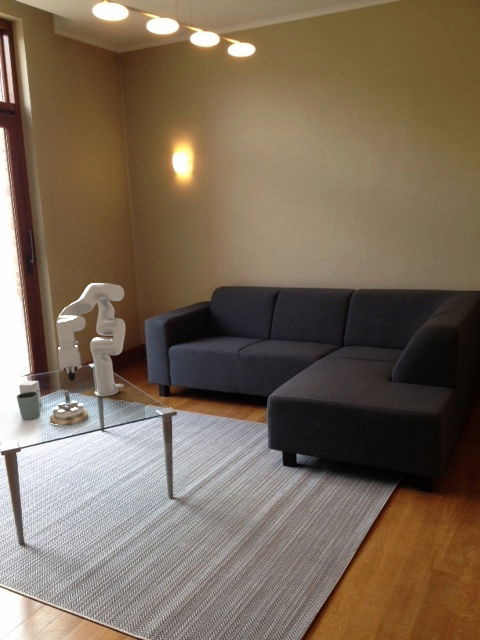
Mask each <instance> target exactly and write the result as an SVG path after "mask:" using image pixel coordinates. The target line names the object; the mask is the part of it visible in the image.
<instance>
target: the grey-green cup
mask: <svg viewBox="0 0 480 640" xmlns="http://www.w3.org/2000/svg"><path fill="white" fill-rule="evenodd" d="M16 400H17V403H18V404H17V405H18V409H19V413H20V417H21V420H22V421H25V420H29V421H33V420H36V419H39V418H40V417H41V415H40V414H41V412H40V404H39V400H38V393H37V392H25V393H21V394H20V393H19V394H18V395H17V396H16Z"/></svg>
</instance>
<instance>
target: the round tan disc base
mask: <svg viewBox="0 0 480 640" xmlns="http://www.w3.org/2000/svg"><path fill="white" fill-rule="evenodd" d="M87 419H89V413H88V410H87V409H85V408H83V414H82V415H81V416H79V417H76V418H73V419H68V420H58V419H55V418H54V413H52V414H51V415H50V417H49V421H50V424H51V423H53V424H58V425H68V426H72V425H73V426H74V425H77V424H80V423H82V422H84V421H86V420H87ZM53 424H52V425H53Z"/></svg>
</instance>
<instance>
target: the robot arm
mask: <svg viewBox="0 0 480 640" xmlns="http://www.w3.org/2000/svg"><path fill="white" fill-rule="evenodd" d="M124 296H125V291H124V287H122V285H118V284H114V283H113V284H112V283H108V282H105V283H104V282H101V283H100V282H93V283H90V284H89V285H87V287H86V288H85V289H84V290H83V293H81V296H80V297H79V298H78V300H76V301H73V302H72V303H71V304H69V305H67V306H65V307H64V309H62V310H61V312H60V313H59V315H58V317H57V319H56V323H55V324H56V326H55V327H56V330H57V331H56V332H57V339H58V344H59V345H58V346H59V347H58V350H57V351H58V352H57V355H58V356H57V357H58V359H57V360H58V366H59V367H58V368H59V370H61V371H65V372H66V374H67V376H68V380H69V381H70V382H73V381H75V379H76V371H78V370H80V369H81V368H82V366H83V365H82V358H81V353H80V350H79V346H78V344H79V341H77V340H76V338H75V332H80V331H82V330H83V329H85V327H86V325H87V324H86V323H87V322H86V319H85V317H84V316H82V315H84V314H87V313H89V312H91V311H93V309H94V308H95V306H96V305H97V306H98V314H97V321H96V327H95V331H96V333H97V334H98V335H100V336H98V337H94V338H92V340H91V341H90V342H89V345H90V346H89V347H90V348H89V349H90V352H91V354H92V358H93V365H94V373H95V374H94V375H95V381H96V390H97V392H96V390H95V391H94V396H96V397H101V398H102V397H109V396H113V395H116V394H117V393H118V392H119V389H123V388H124V384H123V383H115V378H114V369H113V361H112V358H111V356H118V355H120V354H121V353H122V351H123V349H124V348H123V347H124V342H125V335H126V323H125V320H124V319H122V318H116V317H115V311H116V310H115V308H114V306H113V304H112V303H111V302H119V301H121V300H123V298H124ZM108 336H109V337H108ZM111 336H112V337H111Z"/></svg>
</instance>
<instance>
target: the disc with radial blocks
mask: <svg viewBox="0 0 480 640" xmlns="http://www.w3.org/2000/svg"><path fill="white" fill-rule="evenodd" d="M64 397H65V402H60V403H58V404H57V405H58V406H55V407H54V406H53V407H52V414H54V418H55V419H58V420H68V419H73V418H76V417H79V416H81V415H82V414H83V409H84V406H83V405H84V404H83V403H81V402H80V403H79V401H77V400H71V399H70V390H67V389H66V390H65V391H64Z"/></svg>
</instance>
